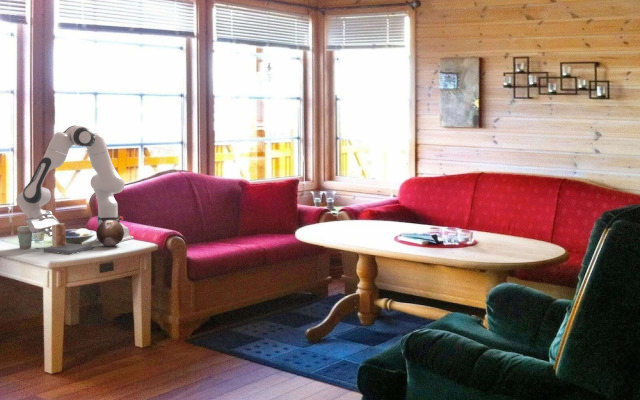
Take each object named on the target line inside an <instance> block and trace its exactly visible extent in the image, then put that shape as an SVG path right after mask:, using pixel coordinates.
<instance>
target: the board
mask: <svg viewBox="0 0 640 400" xmlns="http://www.w3.org/2000/svg"><path fill="white" fill-rule="evenodd" d="M42 249H43V252H44V253H51V252H59V253H58V254H60V253H67V254H66V255H70V254H71V255H73V254H72V253H75V254H77V252H79V253H82V252H85V251H90V250H92V249H93V245H89V244H80V243H68V242H66V245H64V246H59V247H52V245H50V246H47V247H43V248H42Z"/></svg>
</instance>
